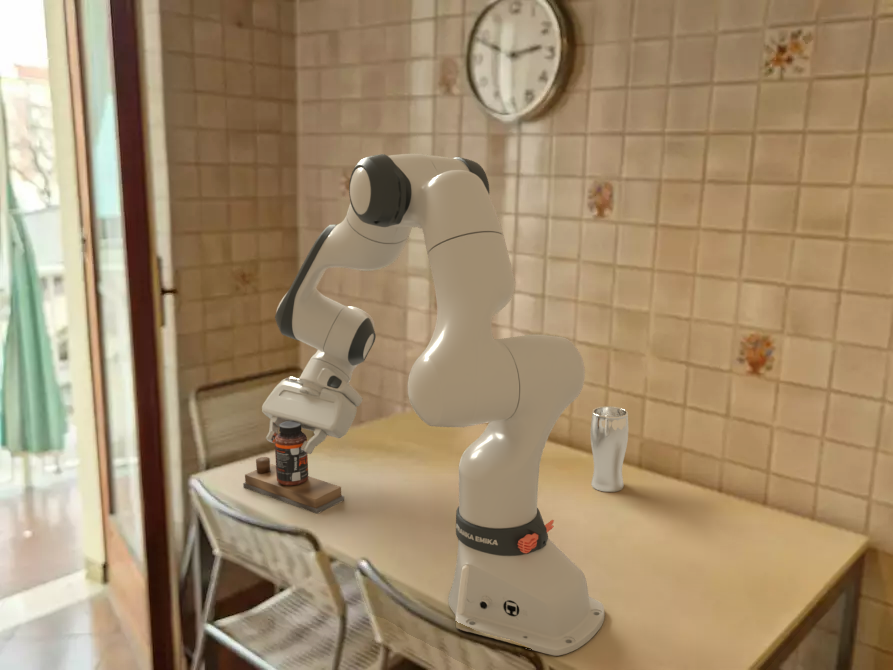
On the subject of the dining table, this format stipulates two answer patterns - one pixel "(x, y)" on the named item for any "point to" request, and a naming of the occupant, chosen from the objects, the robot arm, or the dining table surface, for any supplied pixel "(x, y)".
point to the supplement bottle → (291, 454)
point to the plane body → (292, 488)
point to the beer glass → (608, 447)
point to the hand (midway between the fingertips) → (287, 446)
